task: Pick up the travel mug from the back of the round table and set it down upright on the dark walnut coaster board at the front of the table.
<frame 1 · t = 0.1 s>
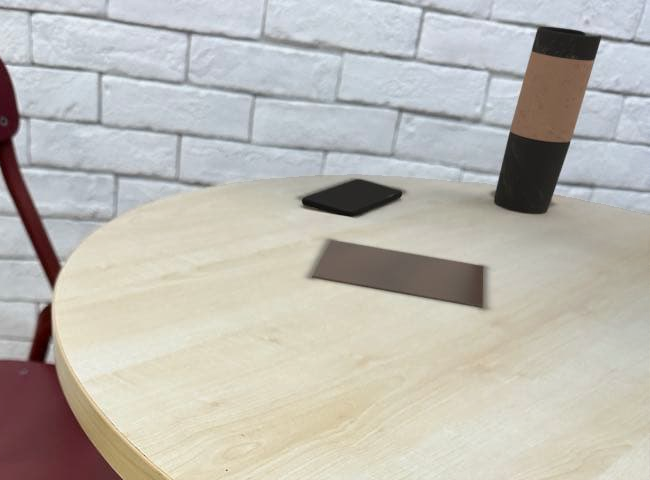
smartphone: (352, 202, 105), on the table
coaster board: (399, 280, 84), on the table
travel mug: (519, 207, 112), on the table
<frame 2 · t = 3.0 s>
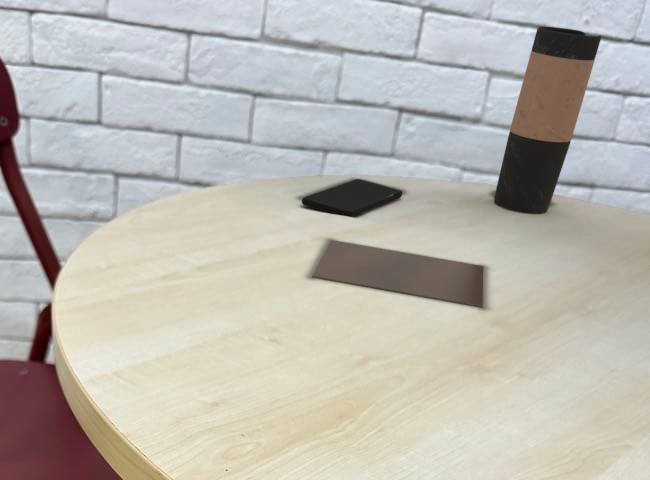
nothing on the table moved.
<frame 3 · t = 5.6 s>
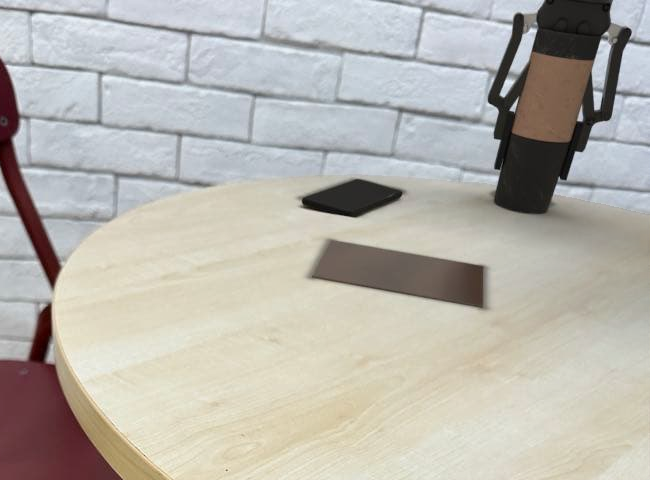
hand: (529, 172, 110), 4 cm above the table, tool pointing down, fingers closed on travel mug, 8 cm apart
travel mug: (520, 207, 112), on the table, touching gripper
everything else where it was.
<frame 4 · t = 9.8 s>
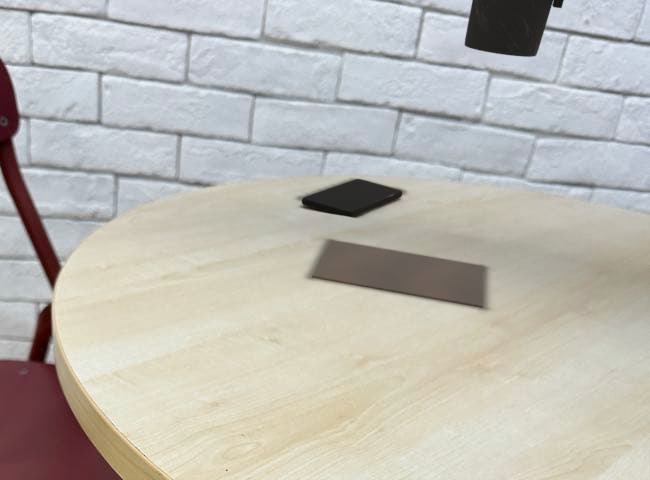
hand: (512, 0, 81), 23 cm above the table, tool pointing down, fingers closed on travel mug, 8 cm apart
travel mug: (499, 52, 83), point 19 cm above the table, touching gripper
everything else where it was.
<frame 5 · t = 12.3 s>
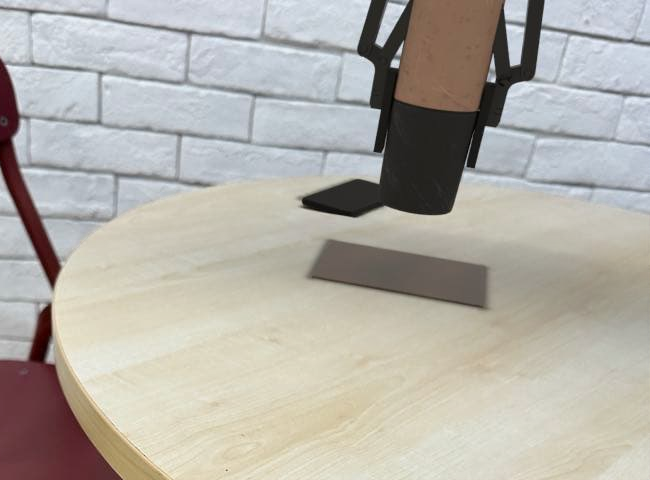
hand: (424, 156, 77), 11 cm above the table, tool pointing down, fingers closed on travel mug, 8 cm apart
travel mug: (413, 206, 79), point 7 cm above the table, touching gripper
everything else where it was.
when the fingers open (5 cm above the table, at t = 14.0 s): travel mug stays where it is, resting on coaster board.
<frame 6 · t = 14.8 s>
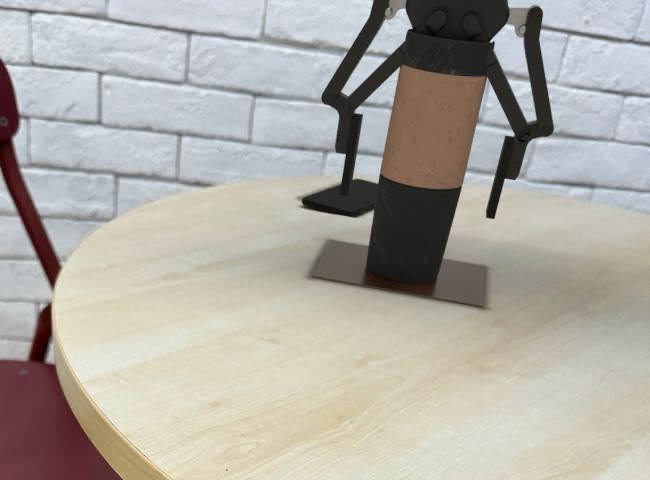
hand: (416, 203, 79), 7 cm above the table, tool pointing down, fingers open, 13 cm apart
travel mug: (401, 272, 83), point 1 cm above the table, touching coaster board
everything else where it was.
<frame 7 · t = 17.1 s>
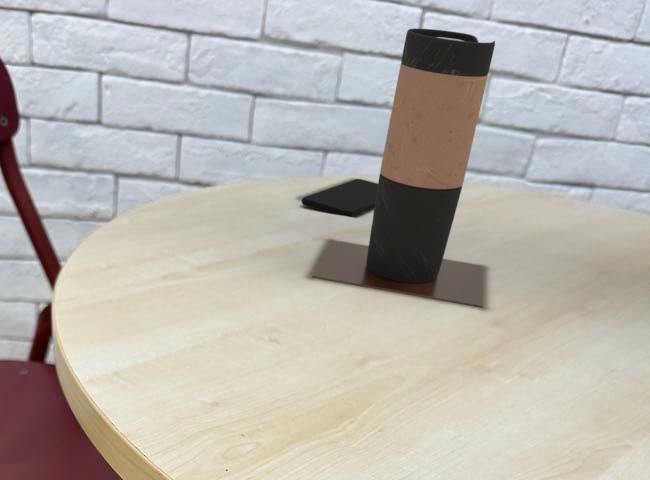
nothing on the table moved.
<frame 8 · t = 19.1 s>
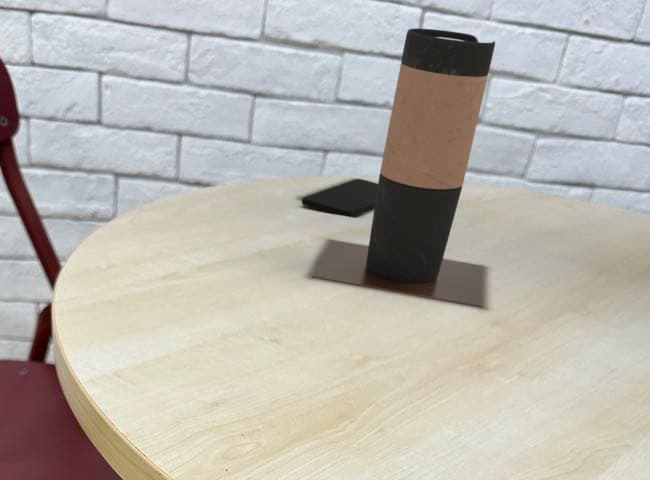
nothing on the table moved.
at the end: travel mug inside the target area on the coaster board (0.0 cm from its centre), point 0.8 cm above the coaster board's base; travel mug tilted 0°; the gripper is holding nothing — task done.
